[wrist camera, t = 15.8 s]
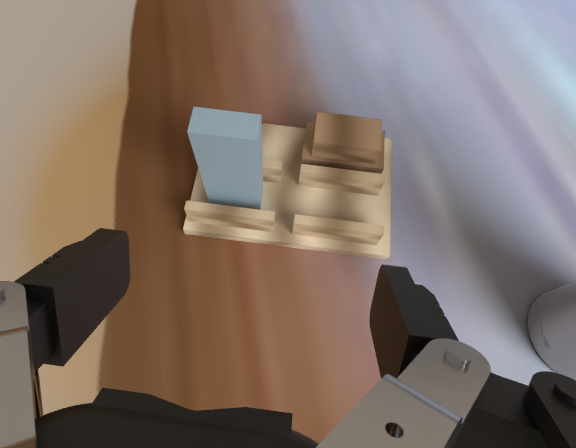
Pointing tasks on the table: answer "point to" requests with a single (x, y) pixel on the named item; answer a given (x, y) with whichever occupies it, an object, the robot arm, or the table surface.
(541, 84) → the table surface
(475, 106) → the table surface
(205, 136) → the slate-blue rectangular block
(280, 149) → the maple rack
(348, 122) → the upper walnut offcut
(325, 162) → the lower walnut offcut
